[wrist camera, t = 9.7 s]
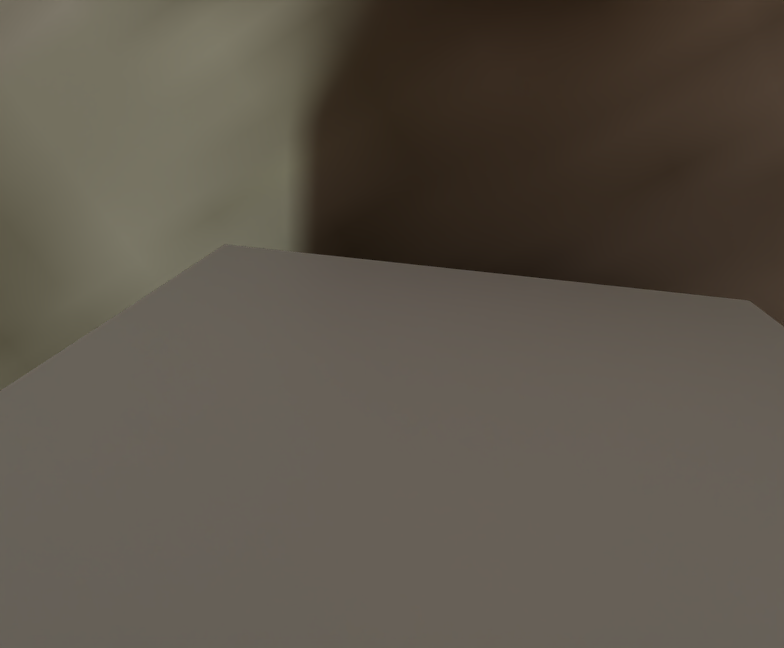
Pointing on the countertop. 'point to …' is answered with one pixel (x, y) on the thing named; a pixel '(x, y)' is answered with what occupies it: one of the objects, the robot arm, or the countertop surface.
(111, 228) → the countertop surface
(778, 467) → the matte white cube
